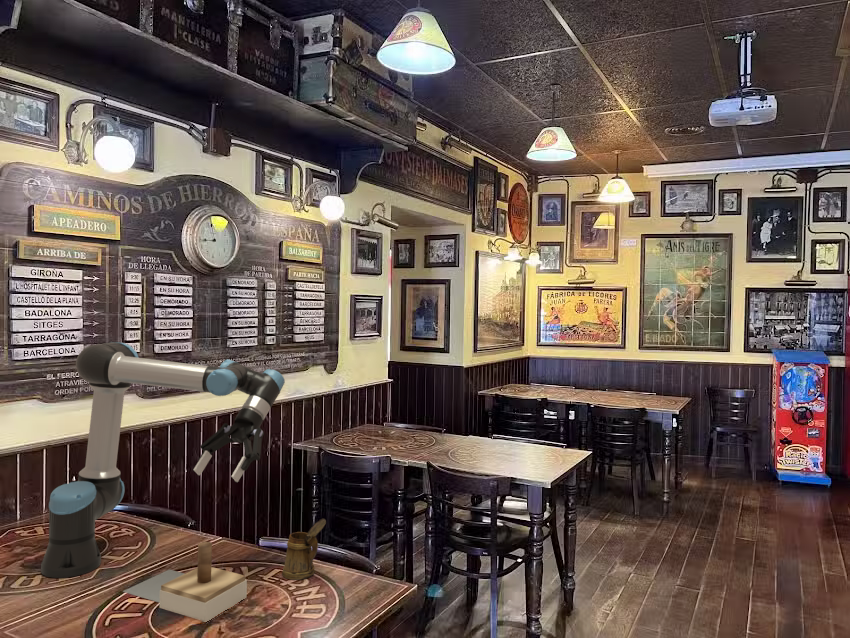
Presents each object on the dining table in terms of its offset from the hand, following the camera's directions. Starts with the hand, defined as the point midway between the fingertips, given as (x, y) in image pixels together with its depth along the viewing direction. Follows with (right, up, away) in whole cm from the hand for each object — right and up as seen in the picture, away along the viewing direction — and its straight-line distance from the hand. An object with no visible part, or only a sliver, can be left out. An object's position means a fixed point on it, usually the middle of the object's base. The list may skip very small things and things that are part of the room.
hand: (215, 476), depth 175 cm
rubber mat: (-12, -29, -4) cm, 32 cm away
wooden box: (+1, -30, -13) cm, 33 cm away
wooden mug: (+24, -31, +6) cm, 39 cm away
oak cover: (+1, -25, -13) cm, 28 cm away
